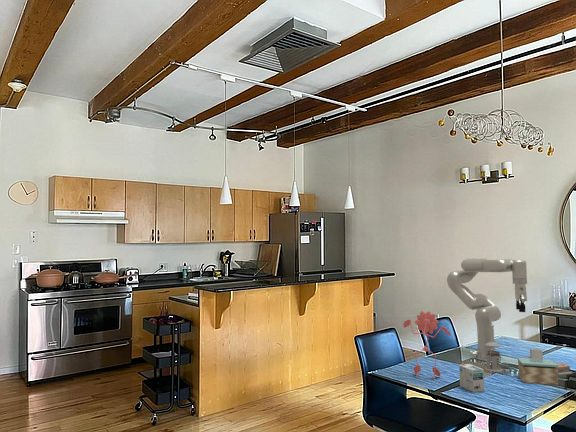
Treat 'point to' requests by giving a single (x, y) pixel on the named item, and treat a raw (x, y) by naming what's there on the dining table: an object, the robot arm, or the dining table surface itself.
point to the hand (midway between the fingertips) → (520, 310)
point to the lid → (545, 362)
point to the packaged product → (563, 369)
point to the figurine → (426, 324)
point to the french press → (493, 357)
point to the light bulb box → (472, 377)
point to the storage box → (538, 374)
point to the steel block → (536, 355)
